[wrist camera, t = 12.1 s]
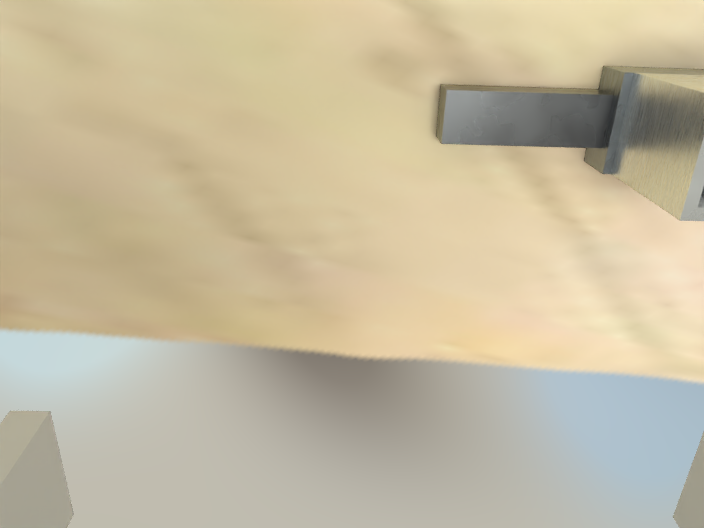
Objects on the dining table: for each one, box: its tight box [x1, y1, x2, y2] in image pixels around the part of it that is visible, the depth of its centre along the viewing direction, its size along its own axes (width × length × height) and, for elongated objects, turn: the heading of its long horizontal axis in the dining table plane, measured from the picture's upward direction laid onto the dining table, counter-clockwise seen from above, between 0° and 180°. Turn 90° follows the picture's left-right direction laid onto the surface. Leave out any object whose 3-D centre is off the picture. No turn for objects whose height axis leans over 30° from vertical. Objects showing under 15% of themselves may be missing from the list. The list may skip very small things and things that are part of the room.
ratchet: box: [436, 66, 704, 174], centre depth 34 cm, size 17×6×8 cm, turn 88°
